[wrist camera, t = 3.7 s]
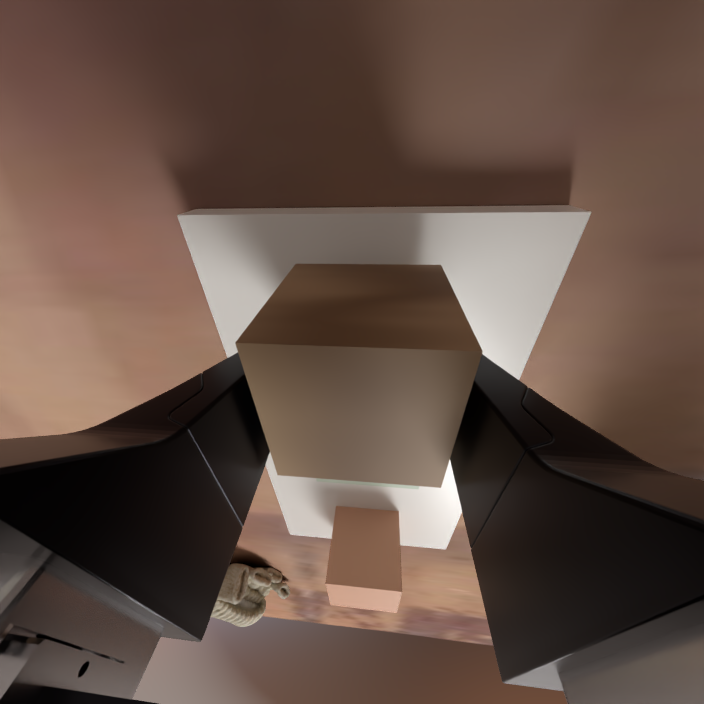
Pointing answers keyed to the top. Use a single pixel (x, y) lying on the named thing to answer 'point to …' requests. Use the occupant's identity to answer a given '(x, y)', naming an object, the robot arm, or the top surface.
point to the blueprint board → (390, 248)
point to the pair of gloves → (247, 593)
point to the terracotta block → (365, 559)
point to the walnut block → (361, 372)
